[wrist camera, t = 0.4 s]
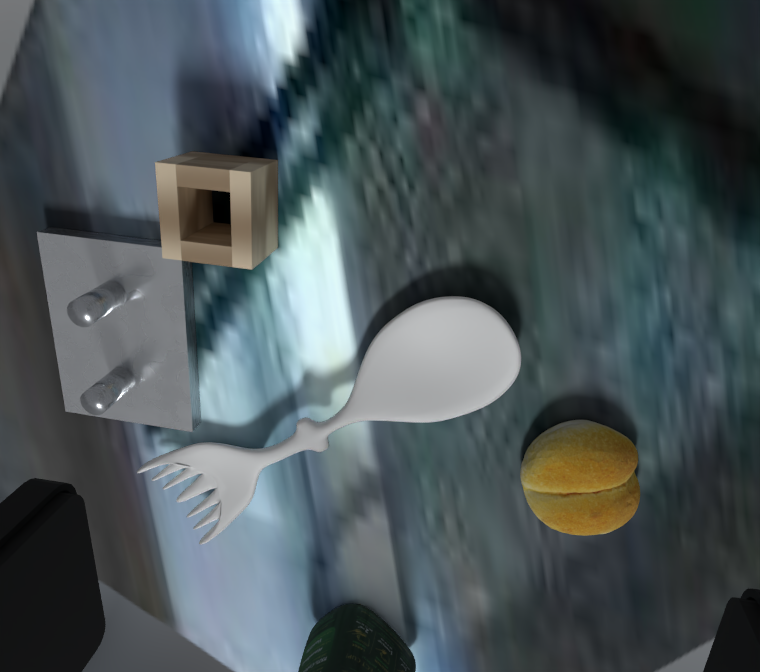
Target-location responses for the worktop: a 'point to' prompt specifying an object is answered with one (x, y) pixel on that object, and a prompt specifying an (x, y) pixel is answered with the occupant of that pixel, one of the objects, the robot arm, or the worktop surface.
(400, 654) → the coffee jar
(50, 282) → the housing plate
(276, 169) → the hollow wooden block
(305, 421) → the spoon
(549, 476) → the bread roll
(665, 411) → the worktop surface
